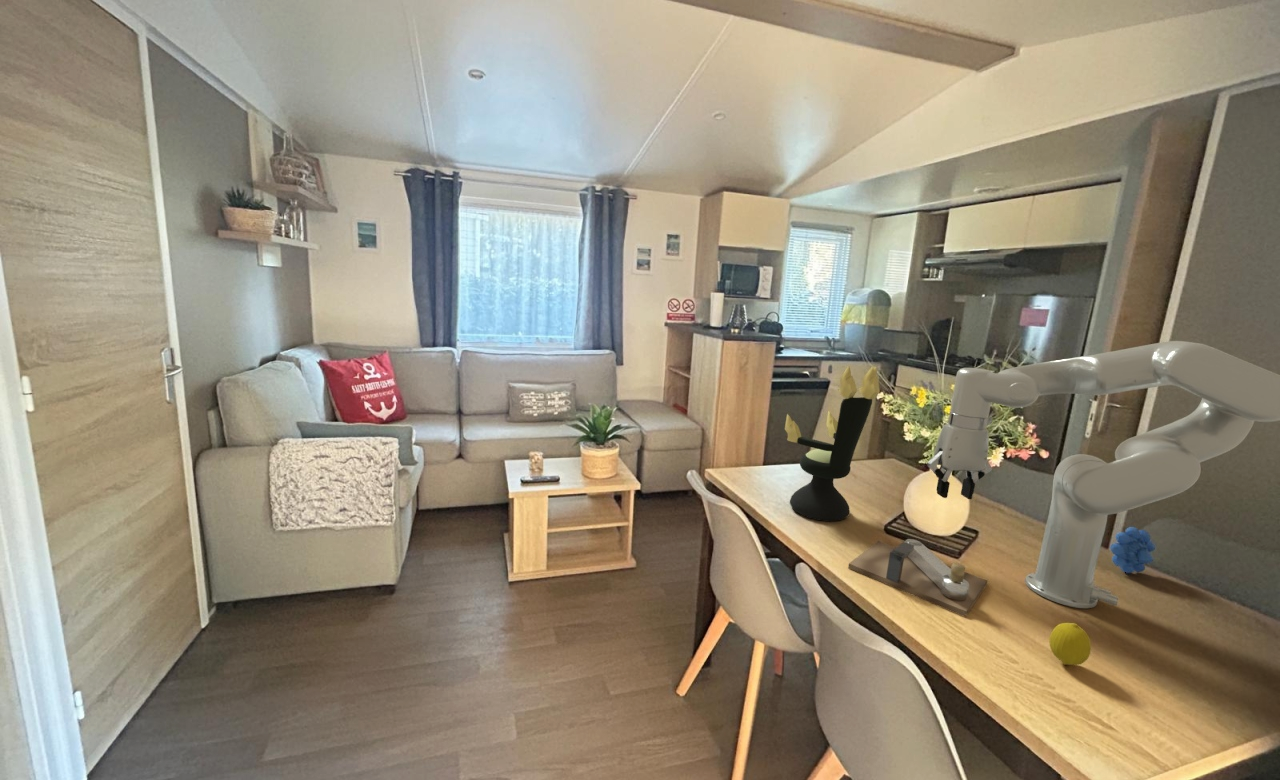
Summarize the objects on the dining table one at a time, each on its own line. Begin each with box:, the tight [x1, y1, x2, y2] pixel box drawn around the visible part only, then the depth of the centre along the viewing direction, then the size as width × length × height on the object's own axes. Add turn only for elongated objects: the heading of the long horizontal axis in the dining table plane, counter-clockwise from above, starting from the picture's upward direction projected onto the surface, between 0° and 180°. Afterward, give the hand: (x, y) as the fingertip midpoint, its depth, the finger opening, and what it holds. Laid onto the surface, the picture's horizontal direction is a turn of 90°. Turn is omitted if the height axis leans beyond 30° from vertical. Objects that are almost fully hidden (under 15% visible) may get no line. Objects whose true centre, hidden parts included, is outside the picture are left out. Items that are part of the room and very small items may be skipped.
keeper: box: [886, 541, 914, 583], centre depth 116 cm, size 2×8×6 cm, turn 135°
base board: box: [848, 540, 988, 618], centre depth 118 cm, size 24×18×8 cm
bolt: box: [904, 538, 969, 600], centre depth 117 cm, size 21×5×3 cm, turn 0°
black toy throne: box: [784, 365, 880, 522], centre depth 147 cm, size 19×22×45 cm
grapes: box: [1109, 526, 1156, 574], centre depth 125 cm, size 12×7×12 cm, turn 98°
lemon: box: [1049, 622, 1092, 666], centre depth 91 cm, size 6×6×8 cm
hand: (954, 495), depth 123 cm, fingers open, 5 cm apart
